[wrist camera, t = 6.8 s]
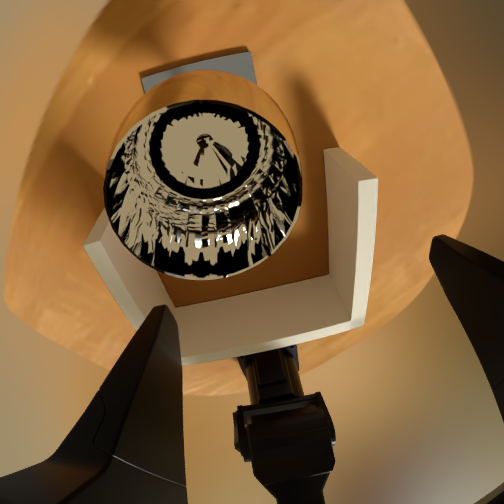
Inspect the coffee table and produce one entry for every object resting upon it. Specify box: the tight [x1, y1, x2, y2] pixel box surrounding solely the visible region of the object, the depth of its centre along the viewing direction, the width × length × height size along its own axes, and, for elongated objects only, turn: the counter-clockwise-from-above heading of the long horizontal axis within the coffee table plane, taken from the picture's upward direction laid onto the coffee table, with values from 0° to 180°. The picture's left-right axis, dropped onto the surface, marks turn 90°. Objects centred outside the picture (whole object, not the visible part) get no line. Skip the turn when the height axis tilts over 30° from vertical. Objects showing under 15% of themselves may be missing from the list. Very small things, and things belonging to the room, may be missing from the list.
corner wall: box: [83, 147, 378, 366], centre depth 20 cm, size 13×16×6 cm
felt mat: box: [141, 51, 257, 93], centre depth 16 cm, size 6×6×1 cm
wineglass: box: [103, 70, 302, 280], centre depth 11 cm, size 6×6×12 cm
